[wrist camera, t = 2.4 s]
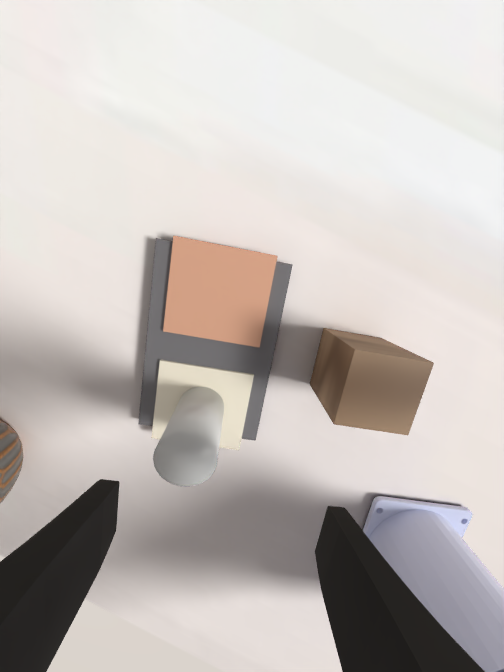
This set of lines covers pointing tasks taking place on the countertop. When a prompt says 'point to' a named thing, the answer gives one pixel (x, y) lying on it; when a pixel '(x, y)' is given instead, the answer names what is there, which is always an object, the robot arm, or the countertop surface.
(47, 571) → the robot arm
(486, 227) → the countertop surface
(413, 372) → the walnut block
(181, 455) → the grey peg
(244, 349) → the mat
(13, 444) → the vase
